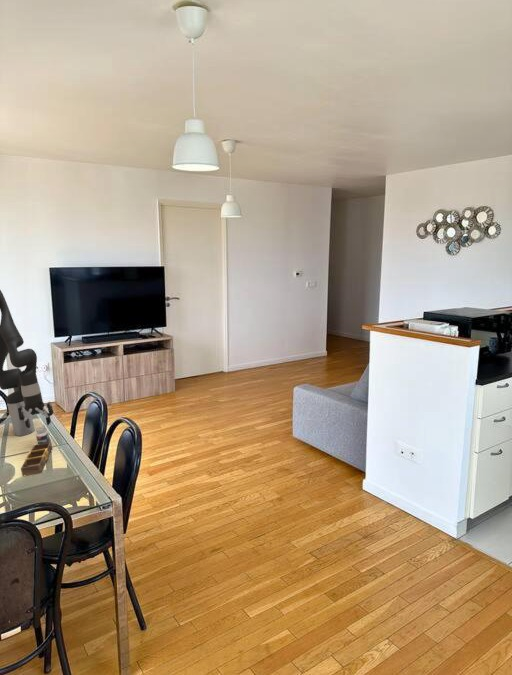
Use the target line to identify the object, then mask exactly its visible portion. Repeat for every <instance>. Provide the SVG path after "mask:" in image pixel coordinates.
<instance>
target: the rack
mask: <svg viewBox="0 0 512 675" xmlns="http://www.w3.org/2000/svg"><path fill="white" fill-rule="evenodd" d="M51 450H52V451H53V445H52V442H51V441H50V443H44V444H38V443H37V444H33V446H32V448H31V450H29V451H28V453H27V455H26V457H25V458H24V462H23V463H22V466H21V467H20V471H21V474H22V477H24V475H26V476H30V475H36V474H37V475H38V474H41V473H43V471H44V469H45V466H46V464H47V462H48V460H49V458H48V457H50V456H49V455H51V454H50V453H52V452H51ZM47 459H48V460H47Z"/></svg>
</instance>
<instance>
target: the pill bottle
mask: <svg viewBox="0 0 512 675" xmlns="http://www.w3.org/2000/svg"><path fill="white" fill-rule="evenodd" d="M35 438H36V441H37V445H38V444H44V443H50V442H51V440H50V435H49V431H48V430H47V427H46V426H39V427H37V428H36V434H35Z"/></svg>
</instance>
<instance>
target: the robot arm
mask: <svg viewBox="0 0 512 675" xmlns="http://www.w3.org/2000/svg"><path fill="white" fill-rule="evenodd" d="M0 314H1V315H0V316H1V318H0V389H1V390H3V391H4V390H9V389H10V390H11V389H14V388H16V387H17V388H18V389H17V390H16V391H15V392H14V391H13V392H11V393H9V394H8V395H7V396H6V398H5V401H6V404H7V409H8V413H9V417H10V420H11V421H10V422H11V425H12V429H13V433H14V436H16V437H23V436H28V435H29V434H32V433H33V432H35V424H34V421H33V415H39V414H41V415H42V416H44V417H45V421H46V425H47V426H49V425H50V424H51V423H52V420H51V416H53V415H54V410H53V406H52V403H51V401H48V402H46V403H44V401H43V396H42V392H41V387H40V383H39V381H38V377H37V363H38V362H37V361H38V360H37V359H38V357H37V352H36V351H35V350H34V349H32V348H25V349H22V350H18V348H19V347H22V346H23V345H24V343H25V342H24V338H23V337H22V335H21V333H20V332H19V330H18V328H17V326H16V323H15V321H14V318H13V317H12V314H11V311H10V308H9V306H8V302H7V301H6V298H5V296H4V294H3V291H1V289H0ZM8 355H9V361H10V363H11V366H13V367H14V368H10V369H5V370H4V364H5V362H6V359H7V357H8ZM24 367H25V369H23V370H21V368H24ZM44 407H45V408H44ZM46 408H47V410H46Z"/></svg>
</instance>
